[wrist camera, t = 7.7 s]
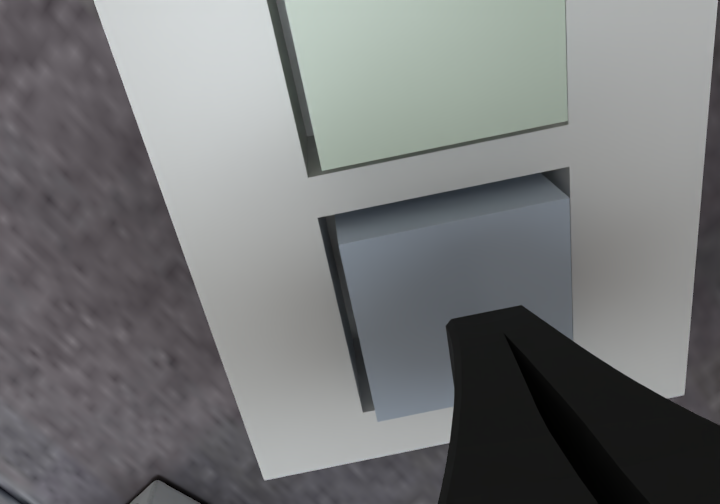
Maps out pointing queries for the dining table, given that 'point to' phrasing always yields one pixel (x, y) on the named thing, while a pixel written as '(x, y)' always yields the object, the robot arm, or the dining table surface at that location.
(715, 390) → the dining table surface
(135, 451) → the dining table surface
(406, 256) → the key slate
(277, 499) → the dining table surface
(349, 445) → the key strip
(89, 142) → the dining table surface
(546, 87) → the key sage
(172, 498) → the skincare box
